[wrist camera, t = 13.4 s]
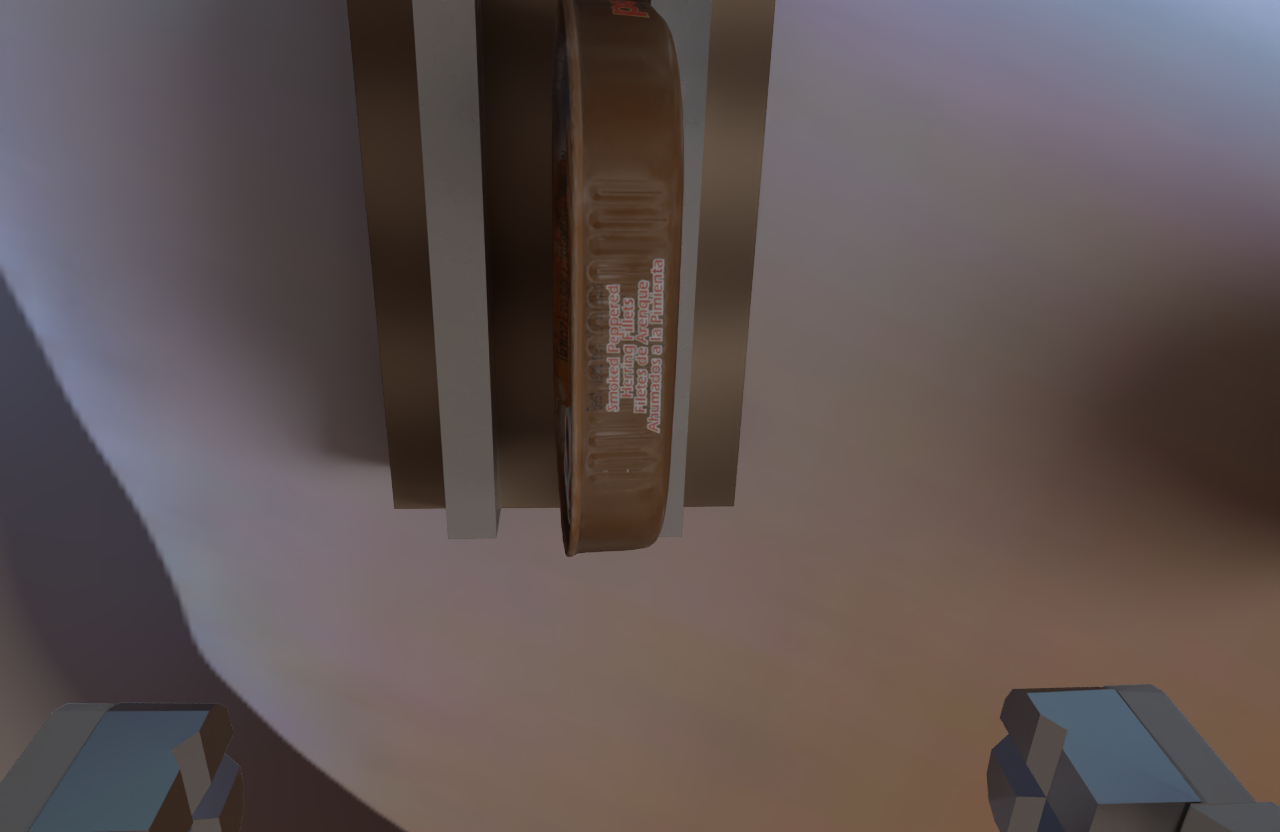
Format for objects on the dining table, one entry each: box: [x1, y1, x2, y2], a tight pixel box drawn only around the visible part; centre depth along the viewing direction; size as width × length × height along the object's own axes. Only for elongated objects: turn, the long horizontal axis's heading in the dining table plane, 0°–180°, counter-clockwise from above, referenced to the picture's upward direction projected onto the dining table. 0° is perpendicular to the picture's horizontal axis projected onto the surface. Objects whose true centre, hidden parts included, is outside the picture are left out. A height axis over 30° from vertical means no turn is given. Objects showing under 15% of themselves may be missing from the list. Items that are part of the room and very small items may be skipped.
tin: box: [552, 0, 684, 557], centre depth 25 cm, size 15×3×8 cm, turn 178°
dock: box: [347, 0, 775, 539], centre depth 29 cm, size 18×12×5 cm, turn 178°
